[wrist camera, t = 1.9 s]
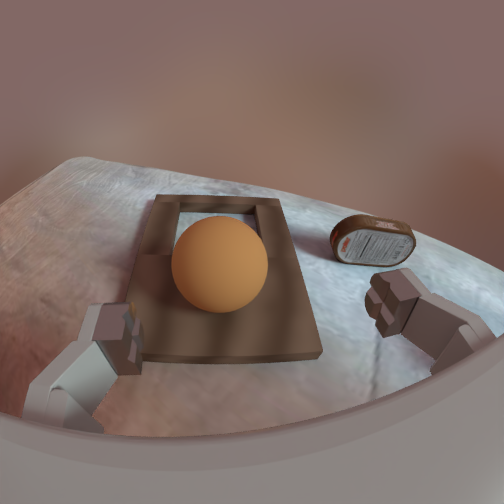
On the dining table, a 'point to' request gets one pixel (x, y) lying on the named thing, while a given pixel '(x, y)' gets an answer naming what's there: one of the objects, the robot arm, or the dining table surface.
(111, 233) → the dining table surface
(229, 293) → the ball
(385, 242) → the tin
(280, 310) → the board
